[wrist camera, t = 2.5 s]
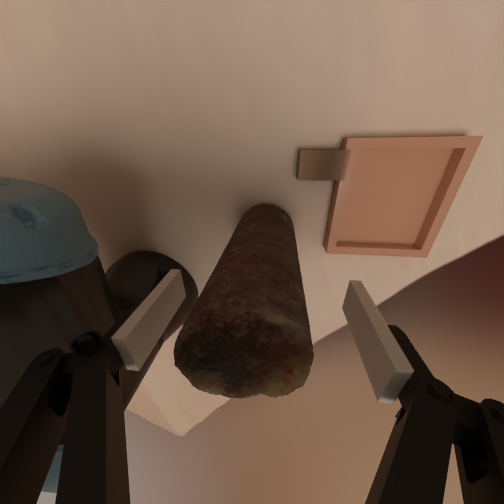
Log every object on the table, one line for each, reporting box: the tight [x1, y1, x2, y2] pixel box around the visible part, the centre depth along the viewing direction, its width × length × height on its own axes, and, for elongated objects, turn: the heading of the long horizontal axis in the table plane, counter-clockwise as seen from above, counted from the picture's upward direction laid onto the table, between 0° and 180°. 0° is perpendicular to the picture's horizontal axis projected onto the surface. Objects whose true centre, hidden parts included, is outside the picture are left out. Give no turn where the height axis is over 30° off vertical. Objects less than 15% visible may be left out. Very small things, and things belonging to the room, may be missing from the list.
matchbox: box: [296, 149, 351, 180], centre depth 22 cm, size 5×3×2 cm, turn 92°
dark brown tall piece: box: [174, 204, 314, 398], centre depth 19 cm, size 8×7×20 cm
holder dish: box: [323, 136, 483, 258], centre depth 23 cm, size 12×13×2 cm
